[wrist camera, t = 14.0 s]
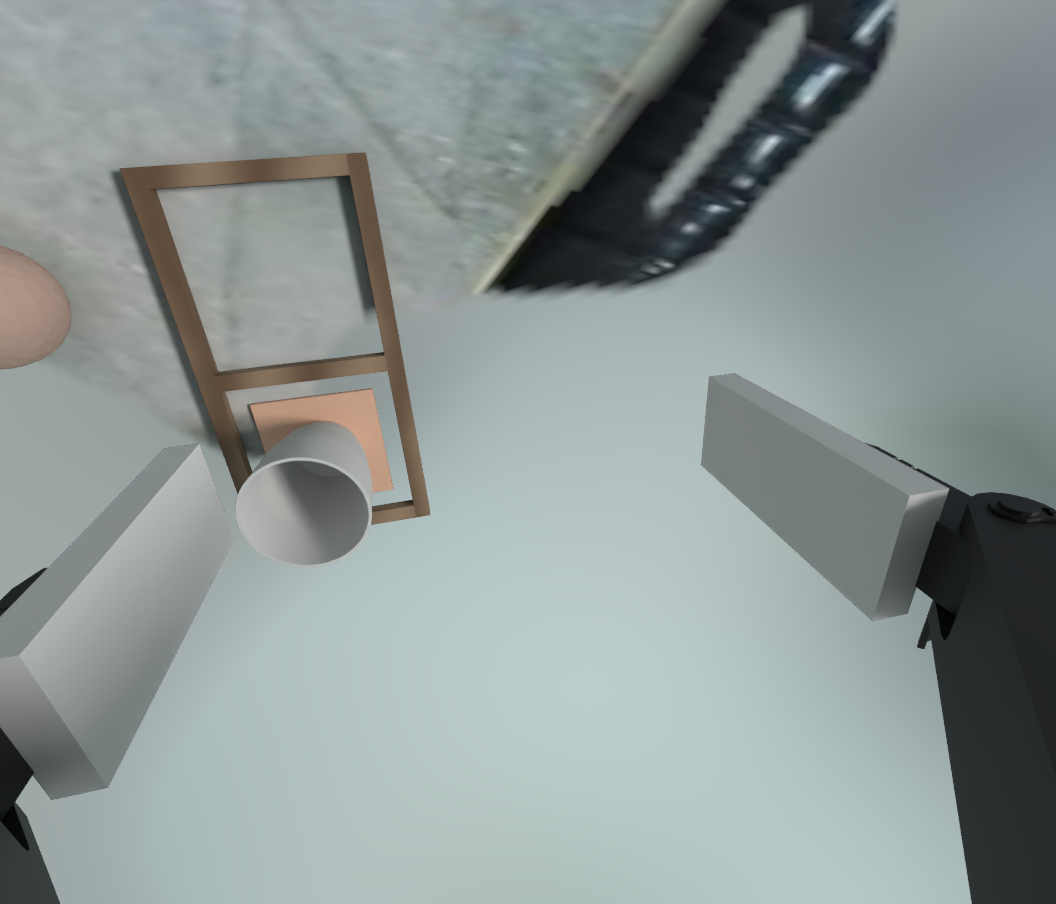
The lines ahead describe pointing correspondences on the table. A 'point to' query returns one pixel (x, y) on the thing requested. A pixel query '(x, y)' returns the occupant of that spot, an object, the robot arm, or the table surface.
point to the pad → (336, 407)
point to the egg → (29, 311)
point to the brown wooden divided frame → (216, 383)
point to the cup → (308, 497)
